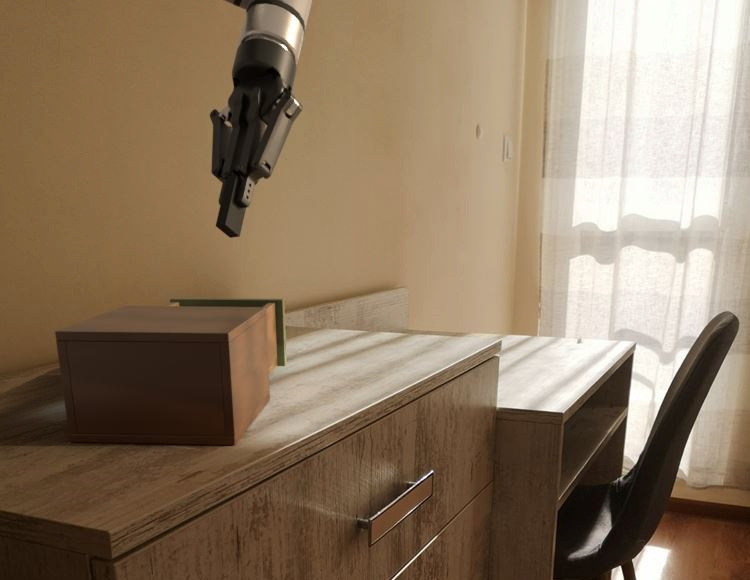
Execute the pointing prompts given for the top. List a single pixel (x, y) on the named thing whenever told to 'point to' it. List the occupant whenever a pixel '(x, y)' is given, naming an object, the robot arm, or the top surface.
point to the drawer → (273, 318)
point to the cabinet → (165, 374)
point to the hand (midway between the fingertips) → (227, 231)
